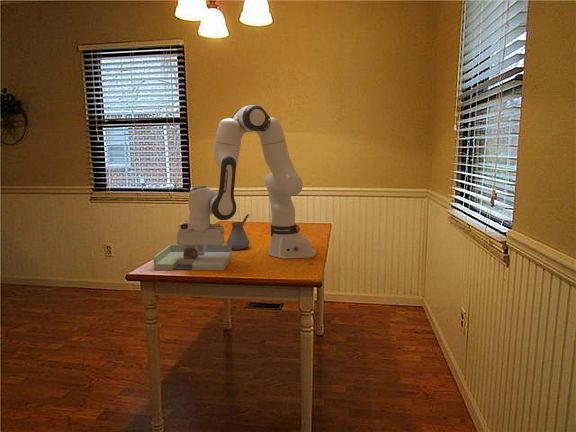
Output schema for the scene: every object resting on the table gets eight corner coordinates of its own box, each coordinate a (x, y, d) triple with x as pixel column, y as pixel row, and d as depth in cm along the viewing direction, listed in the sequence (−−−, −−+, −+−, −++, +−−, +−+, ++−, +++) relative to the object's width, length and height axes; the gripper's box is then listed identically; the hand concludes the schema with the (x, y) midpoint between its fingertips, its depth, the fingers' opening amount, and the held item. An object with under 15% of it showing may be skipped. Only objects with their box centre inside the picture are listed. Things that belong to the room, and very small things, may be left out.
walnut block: (198, 256, 177) (197, 247, 177) (195, 259, 172) (195, 250, 172) (187, 256, 177) (186, 247, 177) (183, 259, 173) (183, 250, 172)
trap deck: (231, 256, 186) (231, 244, 185) (223, 270, 165) (223, 257, 164) (170, 256, 187) (169, 244, 186) (154, 270, 166) (153, 257, 165)
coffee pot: (244, 251, 194) (243, 221, 191) (222, 250, 197) (221, 220, 194) (259, 241, 214) (258, 214, 212) (239, 240, 217) (238, 213, 215)
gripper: (225, 222, 175) (226, 253, 177) (178, 222, 175) (180, 253, 178) (222, 225, 169) (223, 257, 171) (174, 225, 169) (176, 256, 172)
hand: (201, 255), depth 175 cm, fingers closed
